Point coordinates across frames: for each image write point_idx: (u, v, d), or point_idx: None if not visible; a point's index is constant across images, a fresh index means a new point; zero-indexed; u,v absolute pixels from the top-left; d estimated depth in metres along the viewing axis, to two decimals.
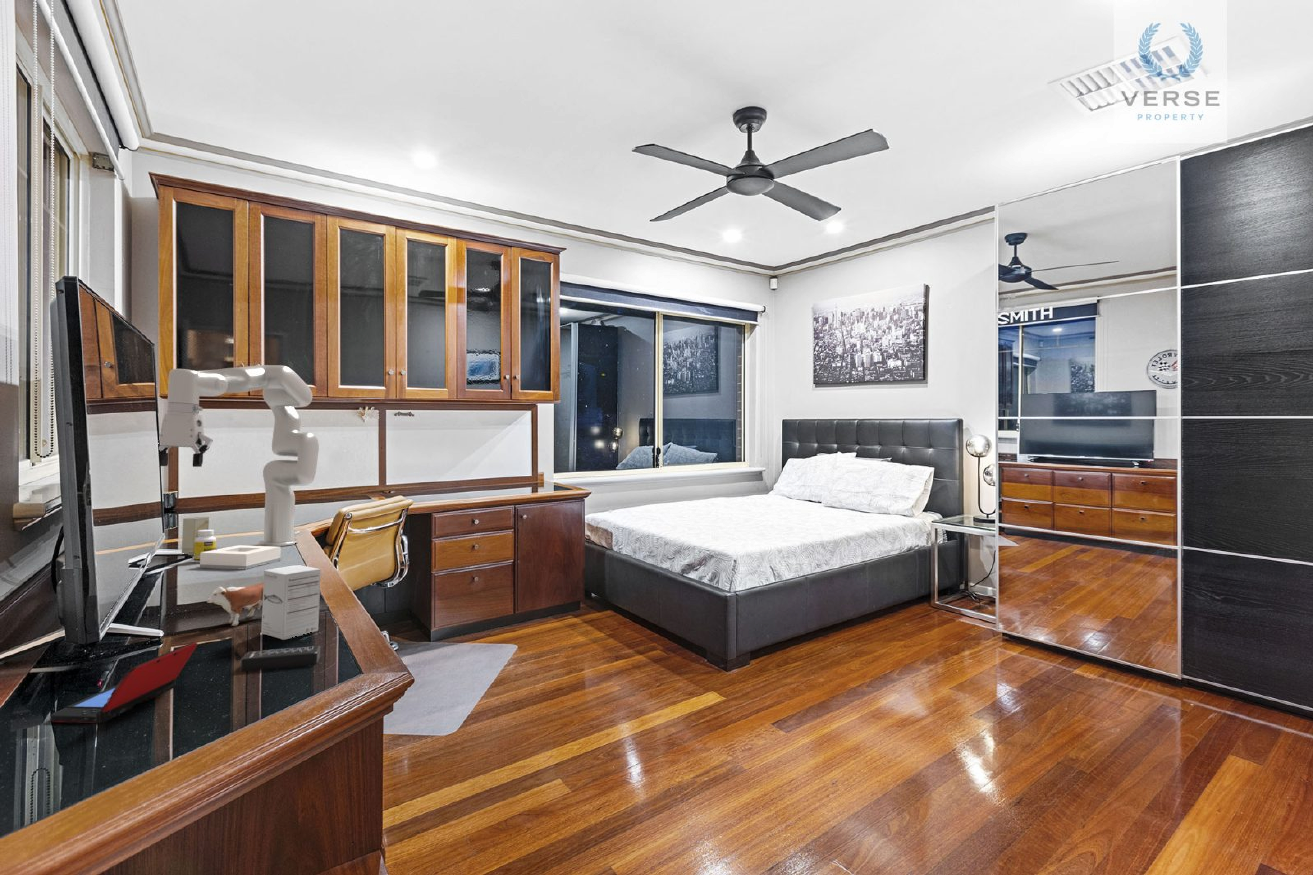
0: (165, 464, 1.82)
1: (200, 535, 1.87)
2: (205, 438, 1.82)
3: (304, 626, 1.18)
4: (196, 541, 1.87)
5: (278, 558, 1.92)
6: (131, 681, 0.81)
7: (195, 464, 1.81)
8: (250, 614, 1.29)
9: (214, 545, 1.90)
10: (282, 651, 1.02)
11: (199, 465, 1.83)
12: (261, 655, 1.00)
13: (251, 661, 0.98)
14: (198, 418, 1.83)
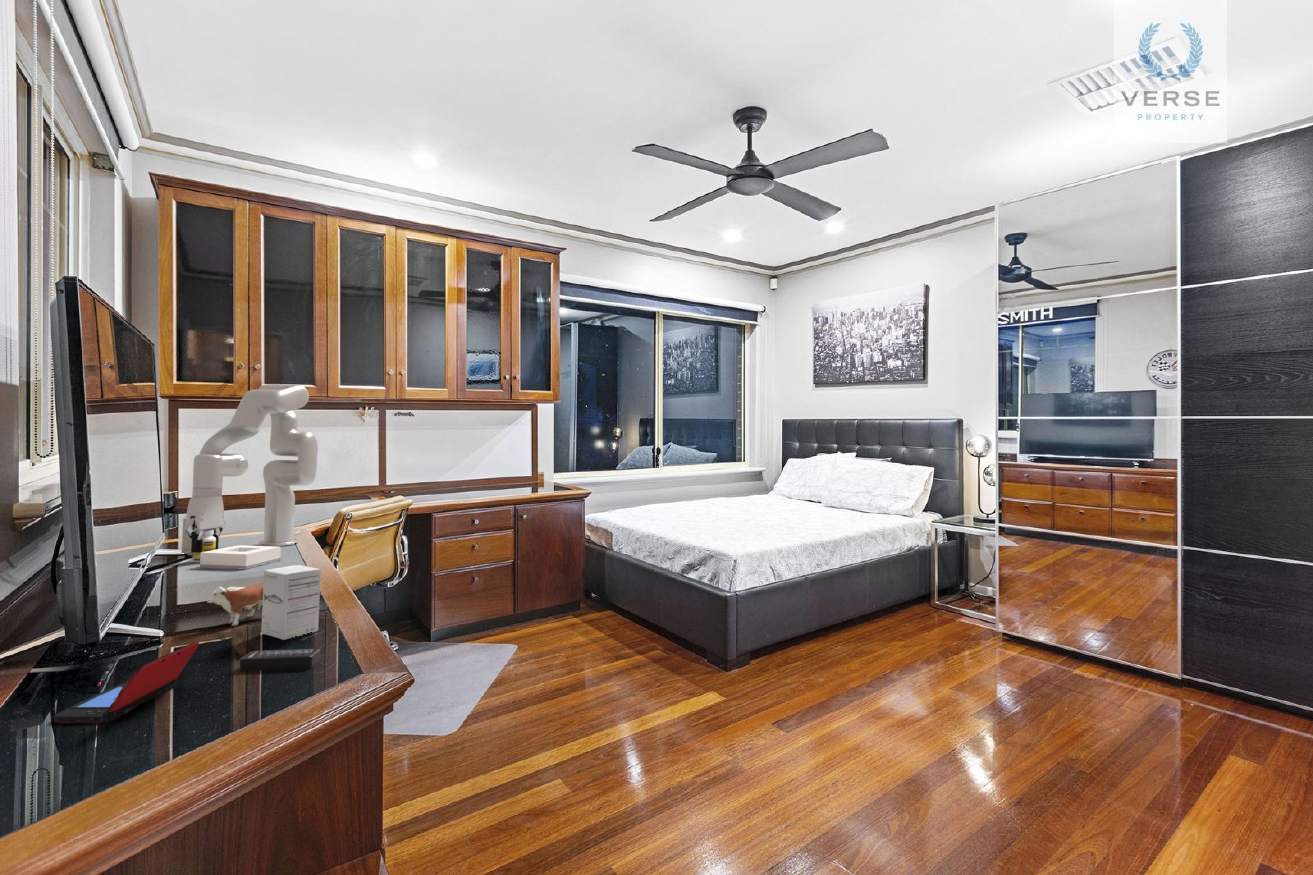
0: None
1: None
2: (223, 521, 1.96)
3: (304, 626, 1.18)
4: None
5: (278, 558, 1.92)
6: (138, 680, 0.81)
7: None
8: (250, 614, 1.29)
9: (214, 545, 1.90)
10: (281, 652, 1.01)
11: None
12: (260, 656, 1.00)
13: (248, 661, 0.98)
14: None
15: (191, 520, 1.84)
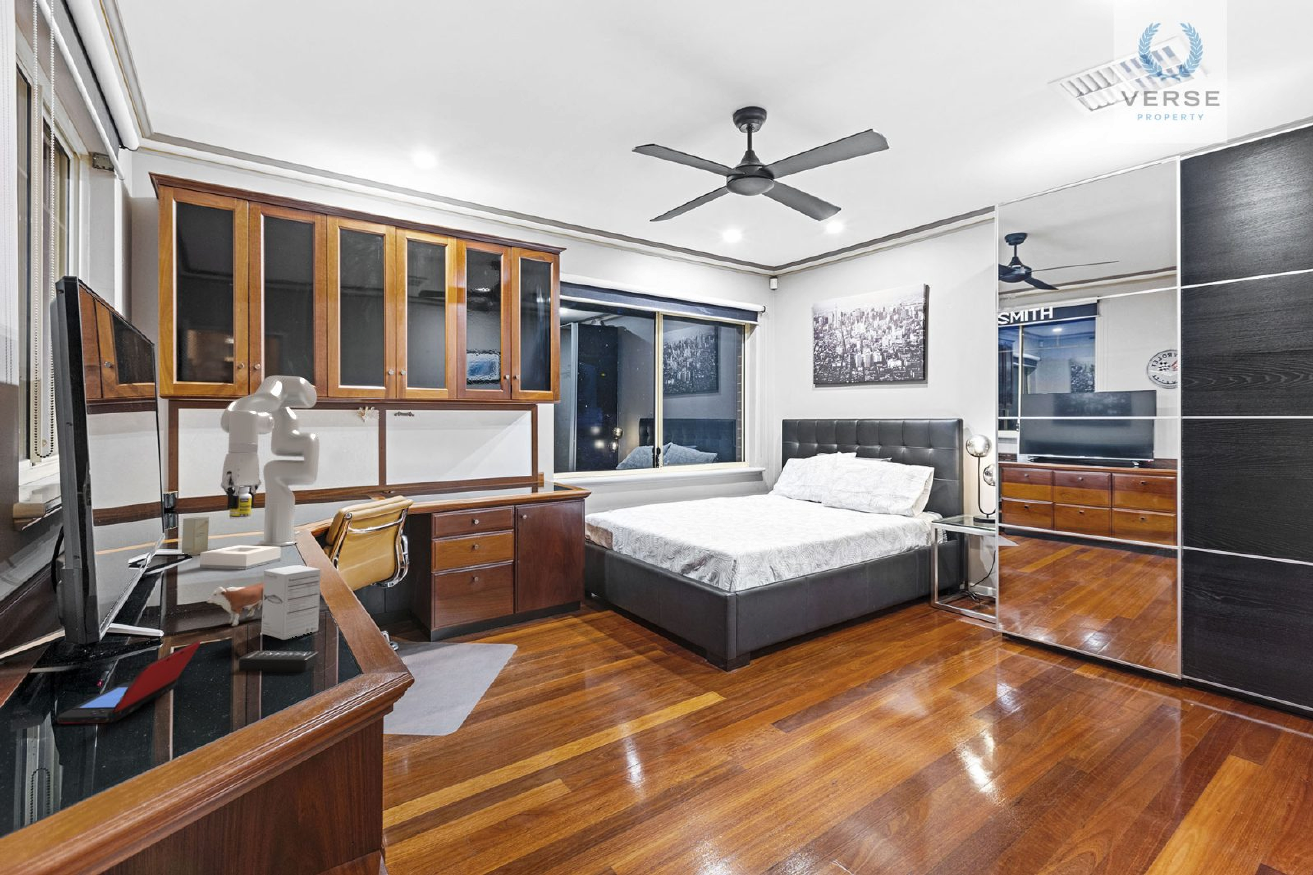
0: None
1: None
2: (258, 480, 1.93)
3: (304, 626, 1.18)
4: None
5: (278, 558, 1.92)
6: (143, 680, 0.81)
7: None
8: (250, 614, 1.29)
9: (250, 502, 1.87)
10: (280, 654, 1.01)
11: None
12: (258, 656, 1.00)
13: (246, 661, 0.98)
14: None
15: (227, 476, 1.82)
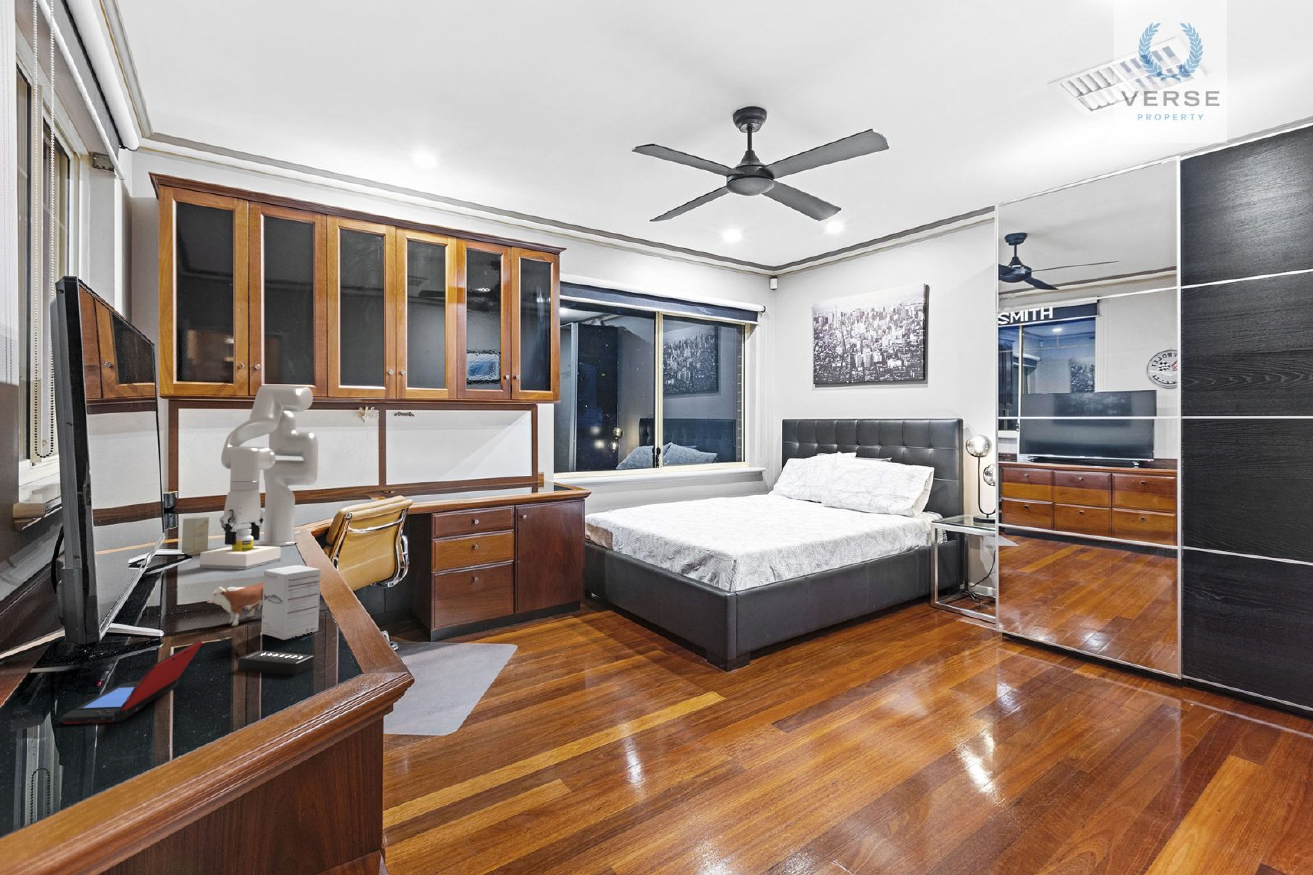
0: None
1: (238, 534, 1.85)
2: (262, 512, 1.94)
3: (304, 626, 1.18)
4: None
5: (278, 558, 1.92)
6: (150, 679, 0.81)
7: None
8: (250, 614, 1.29)
9: (252, 544, 1.87)
10: (277, 655, 1.00)
11: None
12: (256, 657, 0.99)
13: (244, 661, 0.98)
14: None
15: (229, 512, 1.81)
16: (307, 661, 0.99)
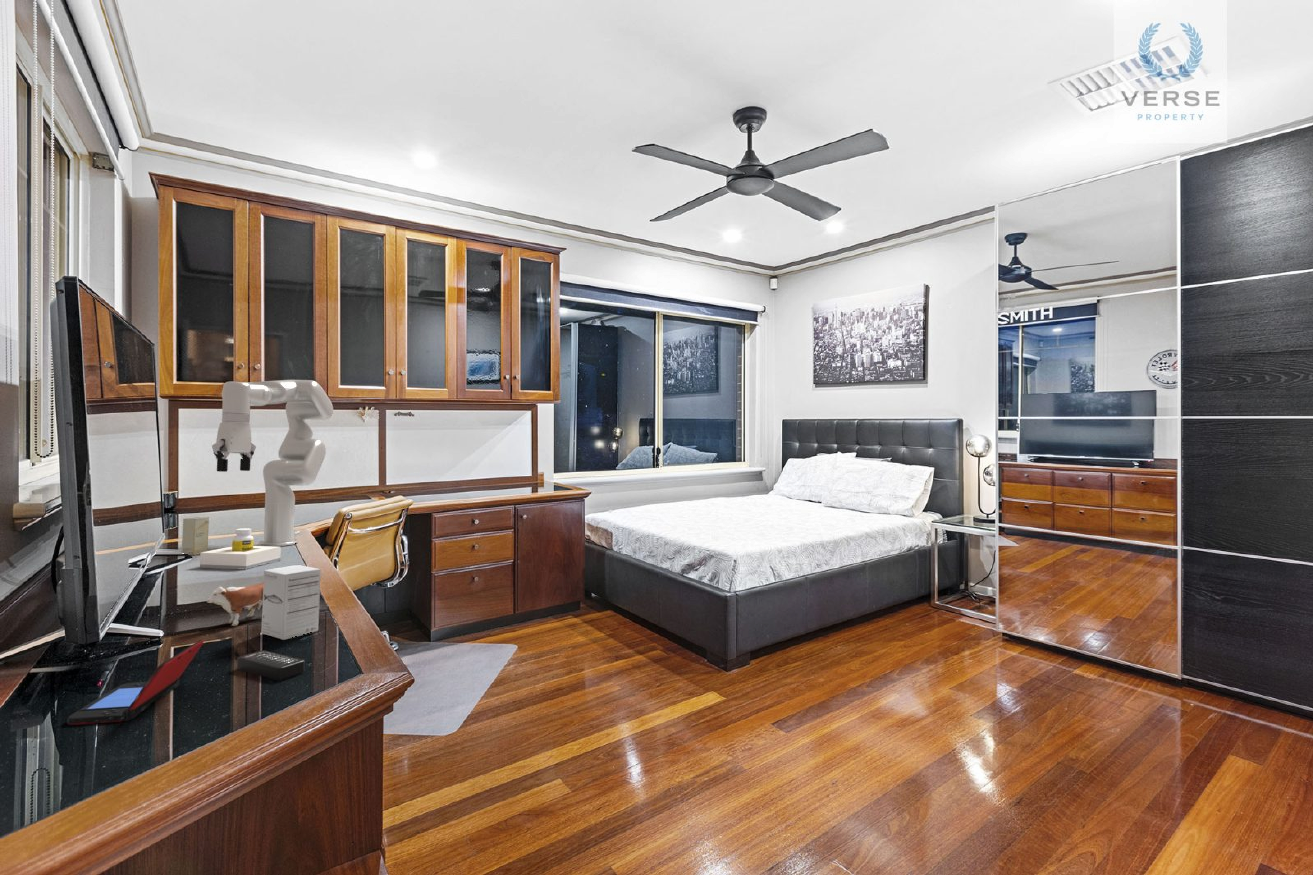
0: None
1: (238, 534, 1.85)
2: (252, 445, 2.05)
3: (304, 626, 1.18)
4: (234, 540, 1.84)
5: (278, 558, 1.92)
6: (158, 678, 0.82)
7: None
8: (250, 614, 1.29)
9: (252, 544, 1.87)
10: (272, 658, 0.99)
11: None
12: (254, 657, 0.99)
13: (241, 661, 0.98)
14: None
15: (220, 440, 1.92)
16: (295, 666, 0.97)
